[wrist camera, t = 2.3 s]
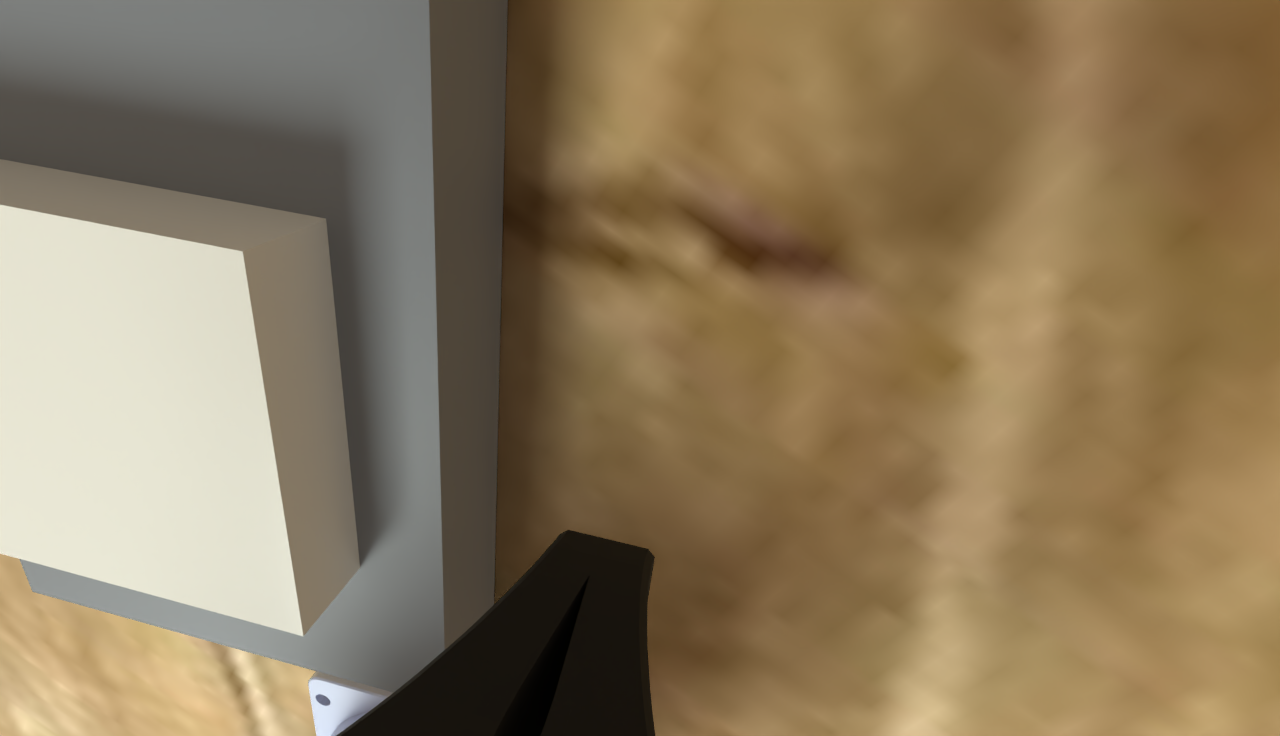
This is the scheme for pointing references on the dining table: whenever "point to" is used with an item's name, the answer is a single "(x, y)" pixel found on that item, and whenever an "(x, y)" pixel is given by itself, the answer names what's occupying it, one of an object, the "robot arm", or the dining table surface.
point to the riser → (359, 256)
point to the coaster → (172, 396)
